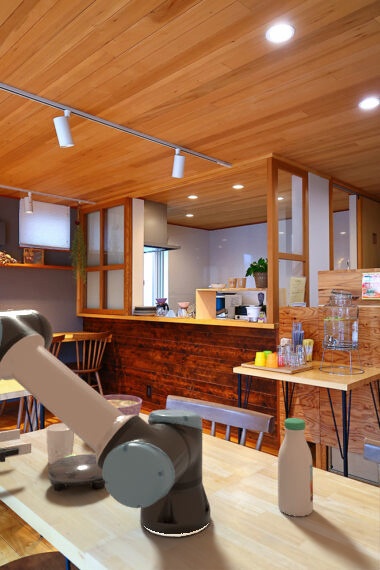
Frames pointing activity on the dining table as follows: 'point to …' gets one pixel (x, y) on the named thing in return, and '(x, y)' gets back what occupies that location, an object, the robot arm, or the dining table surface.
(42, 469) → the dining table surface
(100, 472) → the stand
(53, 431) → the white cup
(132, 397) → the bowl of food
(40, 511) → the dining table surface
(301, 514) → the milk bottle
